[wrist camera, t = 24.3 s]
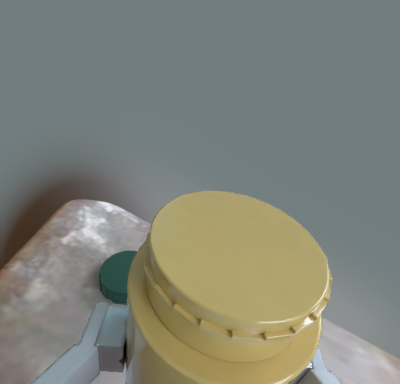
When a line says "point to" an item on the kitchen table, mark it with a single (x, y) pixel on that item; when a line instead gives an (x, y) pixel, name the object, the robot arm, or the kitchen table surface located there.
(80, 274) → the kitchen table surface
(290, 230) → the jam jar
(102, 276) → the jar lid
